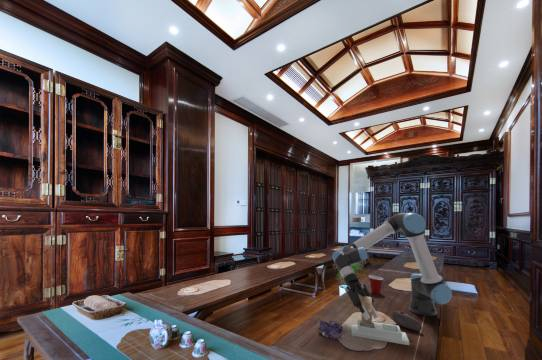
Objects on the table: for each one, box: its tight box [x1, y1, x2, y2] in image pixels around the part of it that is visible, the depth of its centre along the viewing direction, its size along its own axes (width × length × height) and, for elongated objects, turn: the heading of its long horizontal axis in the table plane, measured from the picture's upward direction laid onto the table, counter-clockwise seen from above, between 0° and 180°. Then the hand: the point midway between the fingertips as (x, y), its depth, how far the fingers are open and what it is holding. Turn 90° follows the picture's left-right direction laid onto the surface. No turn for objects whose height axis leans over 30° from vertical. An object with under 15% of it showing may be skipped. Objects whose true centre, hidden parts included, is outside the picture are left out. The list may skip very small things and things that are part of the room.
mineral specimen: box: [318, 320, 343, 340], centre depth 129 cm, size 11×14×4 cm
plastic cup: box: [368, 274, 384, 295], centre depth 199 cm, size 11×11×12 cm
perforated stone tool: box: [392, 310, 423, 332], centre depth 139 cm, size 15×5×7 cm, turn 33°
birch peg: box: [360, 296, 373, 324], centre depth 131 cm, size 5×5×12 cm
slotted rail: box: [351, 318, 410, 346], centre depth 128 cm, size 26×10×4 cm, turn 72°
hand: (372, 318), depth 127 cm, fingers closed on birch peg, 5 cm apart
